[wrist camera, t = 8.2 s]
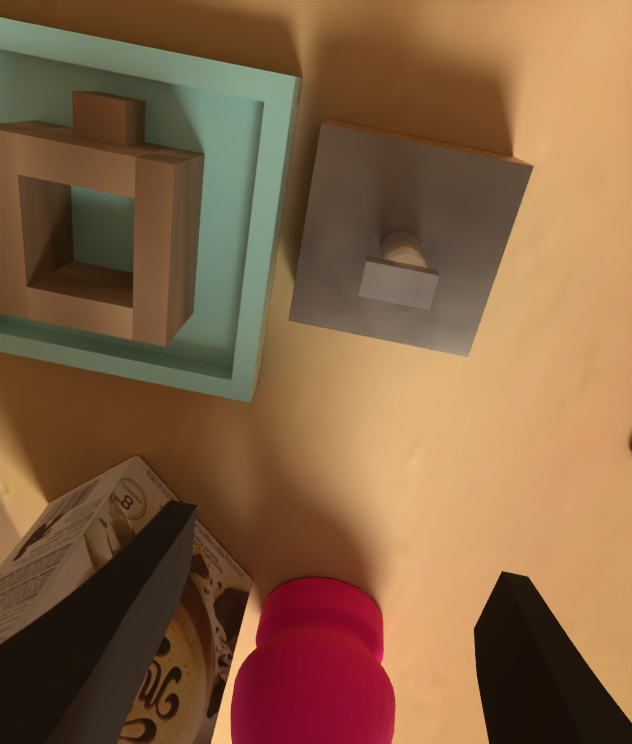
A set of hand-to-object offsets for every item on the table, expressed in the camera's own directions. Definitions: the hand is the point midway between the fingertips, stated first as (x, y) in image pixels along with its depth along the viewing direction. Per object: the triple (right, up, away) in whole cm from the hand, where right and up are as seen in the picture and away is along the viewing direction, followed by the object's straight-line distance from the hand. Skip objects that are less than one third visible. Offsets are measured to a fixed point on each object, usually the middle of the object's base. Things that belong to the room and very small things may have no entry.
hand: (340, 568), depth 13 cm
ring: (-7, +10, +6) cm, 14 cm away
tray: (-7, +10, +7) cm, 14 cm away
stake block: (+2, +9, +6) cm, 11 cm away
